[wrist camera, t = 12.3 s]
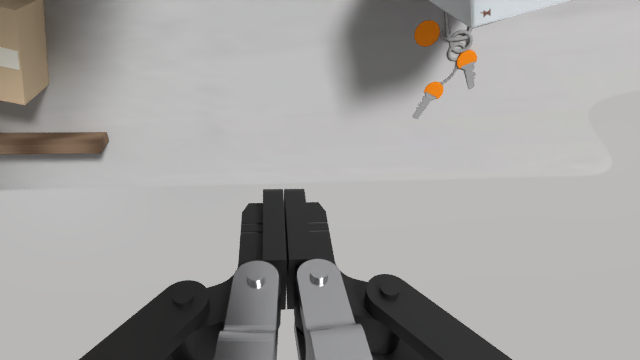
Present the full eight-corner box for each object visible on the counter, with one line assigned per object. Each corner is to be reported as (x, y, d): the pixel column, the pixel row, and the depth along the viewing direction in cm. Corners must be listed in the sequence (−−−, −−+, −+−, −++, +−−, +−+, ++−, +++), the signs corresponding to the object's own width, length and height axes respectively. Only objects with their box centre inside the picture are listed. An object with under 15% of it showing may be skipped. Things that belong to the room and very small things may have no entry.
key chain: (411, -4, 39) (413, -2, 38) (487, -13, 39) (491, -12, 38) (407, 118, 46) (409, 122, 46) (471, 109, 46) (474, 113, 46)
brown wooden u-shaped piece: (59, -42, 34) (46, -37, 32) (108, 140, 44) (101, 153, 42) (-118, -49, 32) (-144, -45, 30) (-26, 141, 42) (-41, 154, 40)
